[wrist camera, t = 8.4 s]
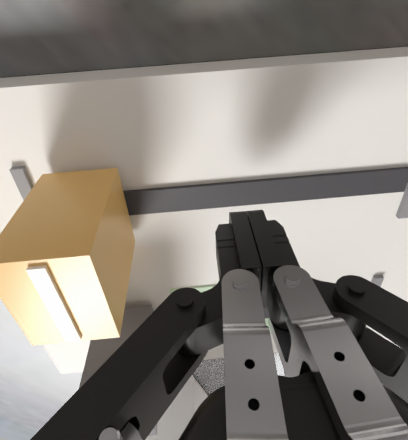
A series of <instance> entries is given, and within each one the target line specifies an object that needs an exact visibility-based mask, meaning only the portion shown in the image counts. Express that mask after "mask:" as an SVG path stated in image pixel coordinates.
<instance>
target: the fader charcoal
mask: <svg viewBox="0 0 408 440" xmlns="http://www.w3.org/2000/svg"><path fill="white" fill-rule="evenodd" d="M152 313H153V308H152V304H150V305H139V306H129V307H125V309H124V315H123V321H122V327H121V334H120V337H118V338H107V339H97V340H91V341H90V345H89V349H88V353H87V358H86V362H85V366H84V370H83V374H82V378H81V382H80V387H79V389H80V388H81V387H82V385H83V384H84V383H85V382H86V381H87V380H88V379H89V378H90V377H91V376H92V375H93V374H94V373H95V372H96V371H97V370H98V369H99V368H100V367H101V366H102V365H103V364H104V363H105V362H106V361H107V359H108V358H109V357H110V356H111V355H112V354H113V353H114V352H115V351H116V350H117V349H118V348H119V347H120V346H121V345H122V344H123V343H124V342H125V341H126V340H127V339H128V338H129V337H130V336H131V335H132V333H133V332H134V331H135V330H136V329H137V328H138V327H139V326H140V325H141V324H142V323H143V322H144V321H145V320H146V319H147V318H148V317H149V316H150V315H151V314H152ZM157 424H158V423H157ZM157 424H156V425H155V427H154V428H153V430H152V431H151V432H150V434H149V435H148V436H154V435H157Z"/></svg>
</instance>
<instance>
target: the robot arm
mask: <svg viewBox="0 0 408 440" xmlns="http://www.w3.org/2000/svg"><path fill="white" fill-rule="evenodd" d="M215 239H216V259H217V266H218V274H219V282H218V283H217V284H216V285H215V286H214V287H213V288H211V289H209V290H207V291H204V292H200V291H198V290H196V289H194V288H188V287H187V288H180V289H177V290H175V291H174V292H172V293H171V294H170V295H169V296H168V297H167V298H166V299H165V300H164V301H163V302H162V303H161V304H160V305H159V306H158V307H157V309H156V310H155V311H154V312H153V313H152V314H151V315H150V316H149V317H148V318H147V319H146V320H145V321H144V322H143V323H142V324H141V325H140V326H139V327H138V328H137V329H136V330H135V331H134V332H133V333H132V335H131V336H130V337H129V338H128V339H127V340H126V341H125V342H124V343H123V344H122V345H121V346H120V347H119V348H118V349H117V350H116V351H115V352H114V353H113V354H112V355H111V356H110V357H109V358H108V359H107V361H106V362H105V363H104V364H103V365H102V366H101V367H100V368H99V369H98V370H97V371H96V372H95V373H94V374H93V375H92V376H91V377H90V378H89V379H88V380H87V381H86V382H85V383H84V384H83V385H82V387H81V388H80V389H79V390H78V391H77V392H76V393H75V394H74V395H73V396H72V397H71V398H70V399H69V400H68V401H67V402H66V403H65V404H64V405H63V406H62V407H61V408H60V409H59V410H58V411H57V413H56V414H55V415H54V416H53V417H52V418H51V419H50V420H49V421H48V422H47V423H46V424H45V425H44V426H43V427H42V428H41V429H40V430H39V431H38V432H37V433H36V434H35V435H34V436H33V437H32V439H31V440H145V439H146V438H147V437H148V435H149V434H150V432H151V431H152V430H153V428H154V427H155V425H156V424H157V423H158V421H159V420H160V419H161V417H162V416H163V414H164V413H165V412H166V410H167V409H168V407H169V406H170V405H171V403H172V402H173V400H174V399H175V398H176V396H177V395H178V394H179V392H180V391H181V389H182V388H183V387H184V385H185V384H186V382H187V381H188V380H189V378H190V377H191V375H192V374H193V373H194V371H195V370H196V369H197V367H198V366H199V364H200V363H201V362H202V360H203V359H204V357H205V356H206V354H207V352H208V350H210V349H212V348H215V347H217V346H219V345H222V344H223V347H224V377H225V386H222V387H220V388H219V389H217V390H215V391H214V392H213V393H211V394H210V395H209V396H208V397H207V398H206V399H205V400H204V401H203V402H202V403H201V405H200V406H199V407H198V409H197V410H196V412H195V413H194V415H193V417H192V418H191V420H190V422H189V423H188V425H187V427H186V428H185V430H184V432H183V433H182V435H181V437H180V438H179V440H408V403H407V402H408V302H407V301H405V300H403V299H401V298H399V297H398V296H396V295H394V294H392V293H390V292H388V291H387V290H385V289H383V288H381V287H379V286H378V285H376V284H374V283H372V282H370V281H368V280H367V279H365V278H362V277H360V276H355V275H346V276H342V277H340V278H339V279H338V280H337V282H336V283H331V282H325V281H320V280H316V279H314V278H311V276H310V275H309V273H308V272H307V271H306V270H304V269H303V268H300V266H299V263H298V261H297V258H296V256H295V254H294V251H293V249H292V246H291V244H290V243H289V239H288V237H287V235H286V232H285V230H284V227H283V226H282V225H281V224H280V223H278V222H277V221H276V220H267V219H266V216H265V213H264V211H263V210H252V211H240V212H229V224H219V225H218V227H217V229H216V231H215ZM263 308H268V312H269V321H268V323H269V327H270V330H271V333H272V336H273V339H274V342H275V345H276V348H277V350H278V353H279V356H280V359H281V362H282V365H283V368H284V373H285V377H284V376H279V375H277V370H276V364H275V358H274V352H273V346H272V340H271V335H270V330H269V327H268V326H266V323H265V316H264V310H263ZM366 325H367V326H369V327H370V328H372V329H374V330H375V331H377V332H378V333H380V334H381V335H383V336H385V337H386V338H388V339H389V340H391V341H392V342H394V343H395V344H397V345H398V346H400V347H401V348H402V349H401V348H399V347H397V346H396V345H394V344H393V343H391V342H390V341H388V340H386V339H385V338H383V337H382V336H380V335H379V334H377V333H376V332H374V331H372V330H371V329H369V328H368V327H366ZM381 383H382V384H383V385H385V386H386V387H385V386H383V385H382V384H381ZM387 387H388V388H389V389H388V388H387ZM391 390H392V391H391ZM395 393H396V394H395ZM399 396H400V397H401V398H400V397H399ZM402 398H403V399H404V400H405V401H404V400H403V399H402ZM406 401H407V402H406Z"/></svg>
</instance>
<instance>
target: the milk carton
mask: <svg viewBox="0 0 408 440" xmlns="http://www.w3.org/2000/svg"><path fill="white" fill-rule="evenodd" d="M207 397H208V395H207V394H206V393H205V391H204V390H203V389H202V387H201V386H200V385H199V383H198V382H197V381H196V379H195V378H194V377H193V375H191V377H190V378H189V380H188V381H187V382H186V384H185V385H184V387H183V388H182V389H181V391H180V392H179V394H178V395H177V396H176V398H175V399H174V400H173V402H172V403H171V405H170V406H169V407H168V409H167V410H166V412H165V413H164V414H163V416H162V417H161V419H160V420H159V421H158V424H157V435H154V436H148V437H147V438H146V439H145V440H179V438H180V437H181V435H182V433H183V432H184V430H185V428H186V427H187V425H188V423H189V422H190V420H191V418H192V417H193V415H194V413H195V412H196V410H197V409H198V407H199V406H200V405H201V403H202V402H203V401H204V400H205V399H206V398H207Z"/></svg>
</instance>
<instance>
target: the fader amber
mask: <svg viewBox="0 0 408 440" xmlns="http://www.w3.org/2000/svg"><path fill="white" fill-rule="evenodd" d="M134 246H135V237H134V233H133V229H132V225H131V221H130V217H129V213H128V209H127V205H126V201H125V197H124V192H123V188H122V184H121V180H120V176H119V172H118V168H109V169H97V170H85V171H73V172H61V173H49V174H42V175H41V177H40V178H39V179H38V181H37V182H36V184H35V185H34V187H33V188H32V189H31V191H30V192H29V194H28V195H27V197H26V198H25V199H24V201H23V202H22V204H21V205H20V207H19V208H18V209H17V211H16V212H15V214H14V215H13V217H12V218H11V219H10V221H9V222H8V224H7V225H6V226H5V228H4V229H3V231H2V232H1V234H0V298H1V300H2V301H3V303H4V304H5V306H6V307H7V309H8V310H9V312H10V313H11V315H12V316H13V318H14V319H15V321H16V322H17V324H18V325H19V327H20V328H21V330H22V331H23V333H24V334H25V335H26V337H27V338H28V340H29V341H30V343H31V344H32V346H33V345H44V344H54V343H65V342H75V341H86V340H97V339H107V338H118V337H120V334H121V327H122V321H123V315H124V309H125V302H126V296H127V290H128V284H129V277H130V271H131V265H132V259H133V252H134Z"/></svg>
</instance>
